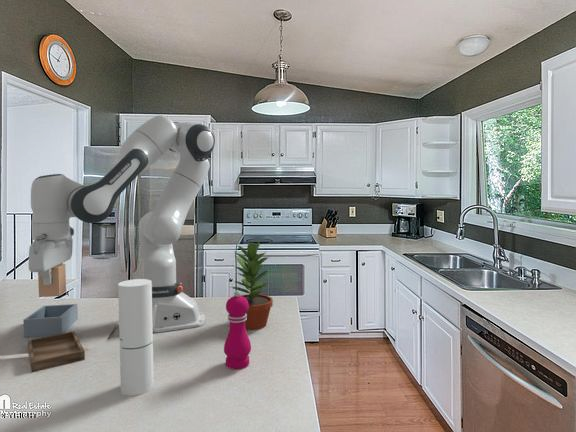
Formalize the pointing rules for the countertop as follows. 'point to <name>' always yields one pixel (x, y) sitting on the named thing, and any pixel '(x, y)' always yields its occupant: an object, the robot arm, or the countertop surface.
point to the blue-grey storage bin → (50, 320)
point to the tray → (55, 351)
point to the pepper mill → (237, 333)
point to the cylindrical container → (136, 336)
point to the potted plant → (253, 287)
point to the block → (58, 282)
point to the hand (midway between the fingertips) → (52, 281)
